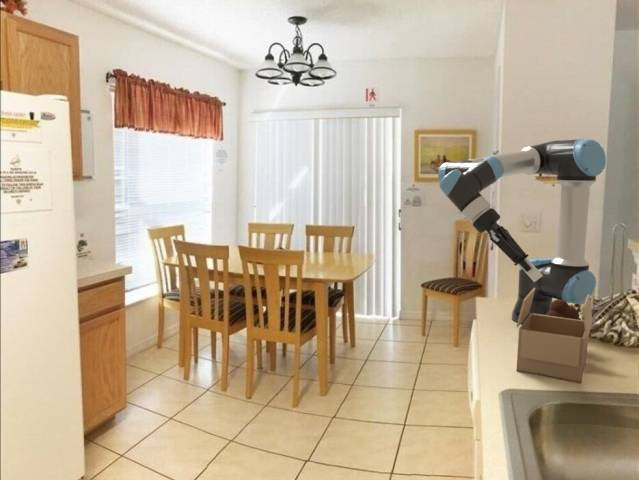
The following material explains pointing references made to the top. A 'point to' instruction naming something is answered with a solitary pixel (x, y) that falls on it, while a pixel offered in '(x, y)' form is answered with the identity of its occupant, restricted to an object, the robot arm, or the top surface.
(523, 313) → the carton flap
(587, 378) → the top surface
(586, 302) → the carton flap
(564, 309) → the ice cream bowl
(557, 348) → the carton
